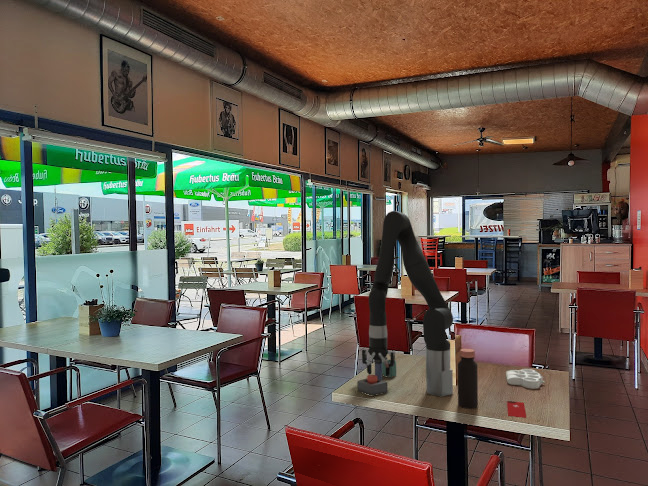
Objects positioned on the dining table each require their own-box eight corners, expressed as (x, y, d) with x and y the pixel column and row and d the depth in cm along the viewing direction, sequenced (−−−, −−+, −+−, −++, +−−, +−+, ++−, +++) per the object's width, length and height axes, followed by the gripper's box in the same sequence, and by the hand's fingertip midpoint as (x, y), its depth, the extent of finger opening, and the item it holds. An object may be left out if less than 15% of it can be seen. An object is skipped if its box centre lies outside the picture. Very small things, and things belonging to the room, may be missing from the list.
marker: (383, 383, 198) (383, 359, 198) (378, 384, 197) (377, 360, 197) (379, 381, 201) (378, 357, 201) (373, 382, 199) (373, 358, 199)
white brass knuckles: (505, 374, 209) (542, 377, 204) (507, 387, 192) (547, 390, 187) (505, 367, 209) (542, 369, 204) (507, 379, 192) (547, 382, 187)
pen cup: (399, 375, 209) (399, 361, 209) (388, 377, 206) (388, 364, 205) (389, 372, 214) (389, 358, 214) (379, 374, 211) (379, 360, 211)
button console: (387, 392, 187) (387, 382, 187) (370, 396, 182) (370, 386, 182) (373, 386, 194) (373, 376, 194) (357, 390, 189) (357, 380, 189)
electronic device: (526, 419, 159) (524, 403, 173) (526, 417, 159) (524, 402, 173) (508, 417, 161) (506, 402, 175) (507, 415, 161) (506, 400, 175)
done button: (379, 384, 187) (379, 376, 187) (371, 386, 185) (371, 378, 185) (373, 381, 191) (373, 374, 191) (365, 383, 189) (365, 375, 189)
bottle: (478, 409, 167) (478, 352, 167) (458, 408, 168) (458, 352, 168) (476, 402, 174) (476, 348, 173) (457, 401, 175) (456, 347, 175)
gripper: (397, 335, 199) (397, 374, 199) (364, 332, 205) (365, 370, 205) (392, 338, 192) (392, 379, 192) (358, 336, 198) (359, 375, 198)
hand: (378, 374), depth 199 cm, fingers open, 7 cm apart
